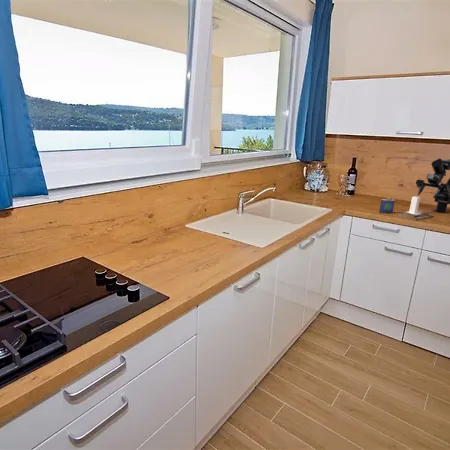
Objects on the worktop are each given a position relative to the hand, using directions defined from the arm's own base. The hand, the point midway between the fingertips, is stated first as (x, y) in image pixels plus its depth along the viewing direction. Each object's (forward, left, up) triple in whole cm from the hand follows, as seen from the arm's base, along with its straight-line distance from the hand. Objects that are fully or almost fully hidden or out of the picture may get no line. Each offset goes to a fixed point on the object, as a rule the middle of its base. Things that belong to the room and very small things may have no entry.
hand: (425, 196), depth 211 cm
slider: (+3, -7, -11) cm, 13 cm away
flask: (-5, -20, -14) cm, 25 cm away
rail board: (0, -4, -13) cm, 14 cm away
